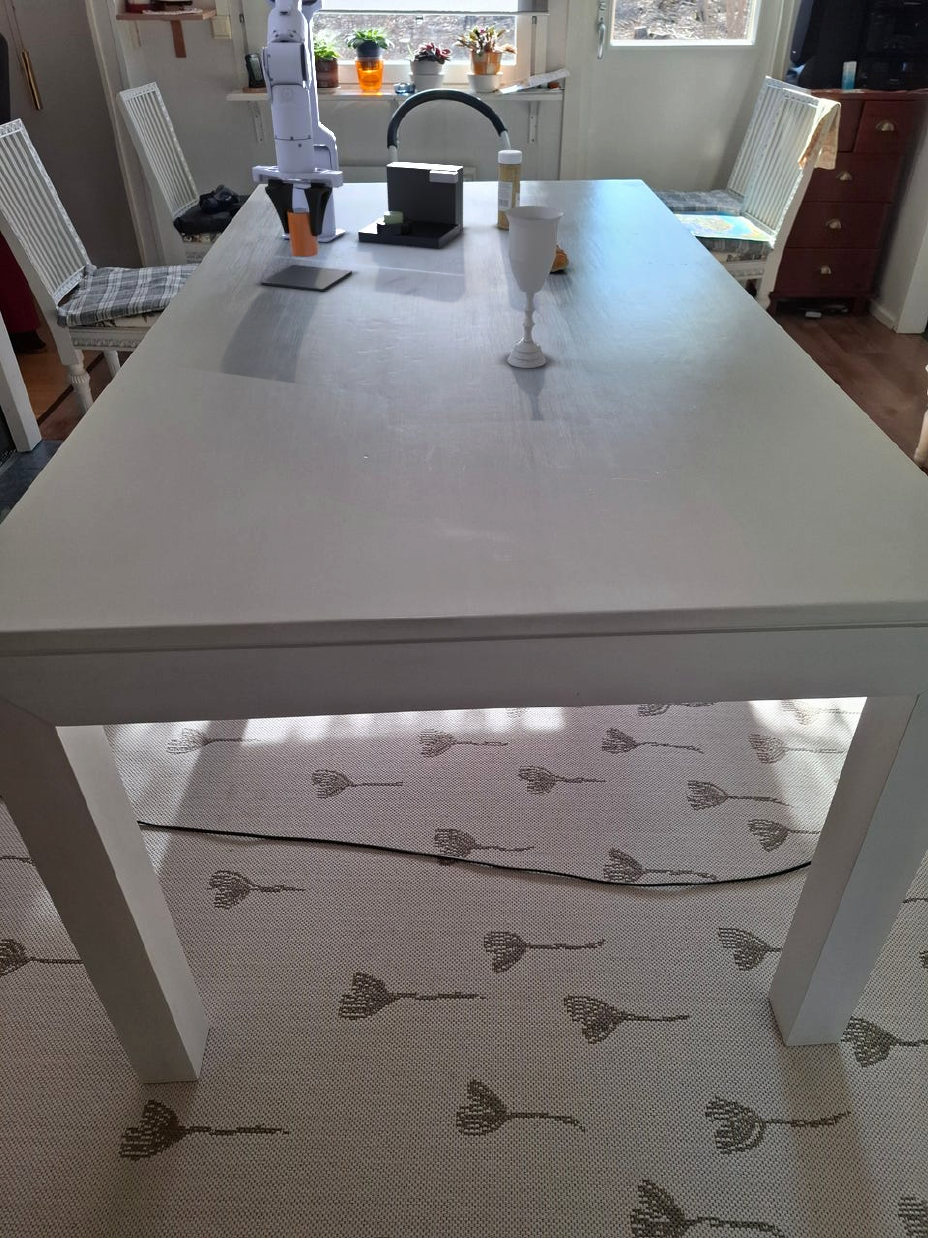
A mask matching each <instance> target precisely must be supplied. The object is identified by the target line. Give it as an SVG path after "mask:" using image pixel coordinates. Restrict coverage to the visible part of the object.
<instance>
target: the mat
mask: <svg viewBox="0 0 928 1238" xmlns="http://www.w3.org/2000/svg"><path fill="white" fill-rule="evenodd" d="M352 274H353V271H352V270H348V269H347V270H345V269H339V268H338V269H337V268H329V267H328V268H326V267H318V266H317V267H316V266H307V265H297V264H292V265H290V266H288V267H286V268H285V269H283V270H281V271H279V272H277V273H275V274H274V275H272V276H270V277H268V278H266V279H265V280H263V281H261V283H260V285H262V286H268V287H279V288H287V289H298V290H303V291H304V290H306V291H315V292H322V293H323V292H325V291H326V290H328V289H329V288H331V287H333V286H334V285H335V284H337V283H339V282H341V281H342V280H344V279H345V278H347V277H348V276H350V275H352Z"/></svg>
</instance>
